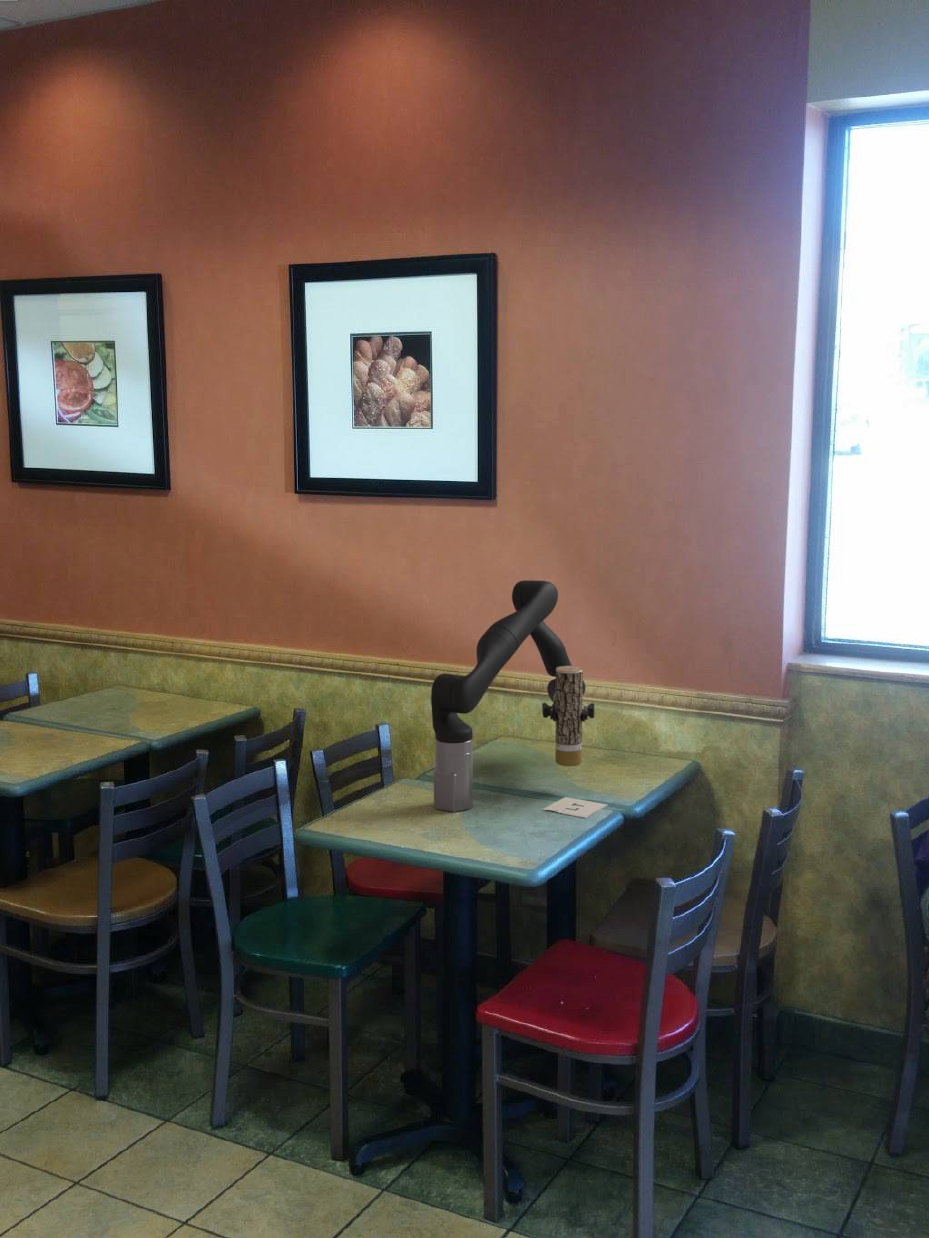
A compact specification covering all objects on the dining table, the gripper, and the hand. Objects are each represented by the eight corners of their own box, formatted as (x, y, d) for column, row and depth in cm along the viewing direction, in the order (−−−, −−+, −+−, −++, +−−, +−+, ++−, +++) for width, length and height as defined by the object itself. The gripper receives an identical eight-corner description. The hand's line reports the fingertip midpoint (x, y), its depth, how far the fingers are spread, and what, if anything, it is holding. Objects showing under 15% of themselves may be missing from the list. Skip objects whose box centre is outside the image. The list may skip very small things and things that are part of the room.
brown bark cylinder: (560, 768, 313) (561, 672, 309) (551, 761, 320) (552, 666, 315) (585, 766, 315) (586, 670, 311) (576, 758, 321) (577, 665, 317)
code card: (585, 818, 297) (585, 817, 297) (542, 809, 303) (542, 809, 303) (608, 805, 306) (608, 804, 306) (565, 797, 313) (565, 796, 313)
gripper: (540, 688, 329) (540, 703, 313) (594, 688, 328) (597, 703, 312) (540, 715, 330) (540, 731, 314) (594, 715, 329) (597, 732, 313)
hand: (569, 717), depth 313 cm, fingers closed on brown bark cylinder, 7 cm apart
